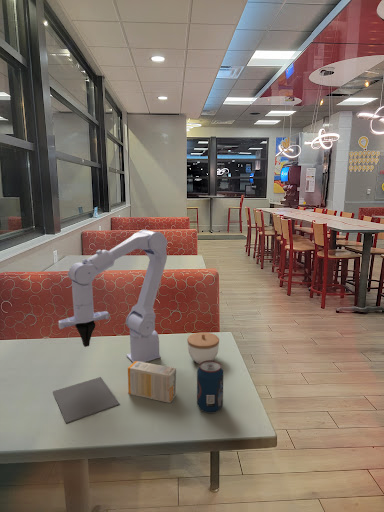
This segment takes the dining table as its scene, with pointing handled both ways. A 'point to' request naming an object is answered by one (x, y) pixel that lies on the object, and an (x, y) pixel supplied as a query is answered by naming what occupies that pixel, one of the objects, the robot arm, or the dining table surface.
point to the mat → (84, 399)
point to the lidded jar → (203, 346)
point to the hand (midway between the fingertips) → (86, 345)
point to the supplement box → (152, 381)
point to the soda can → (210, 386)
